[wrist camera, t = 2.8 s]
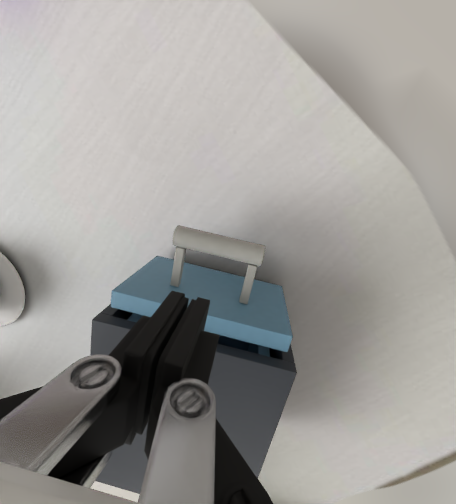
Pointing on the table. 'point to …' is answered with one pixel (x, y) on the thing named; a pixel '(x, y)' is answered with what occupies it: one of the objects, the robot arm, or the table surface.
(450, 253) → the table surface
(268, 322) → the blue drawer
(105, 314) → the small drawer unit
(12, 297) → the teacup
